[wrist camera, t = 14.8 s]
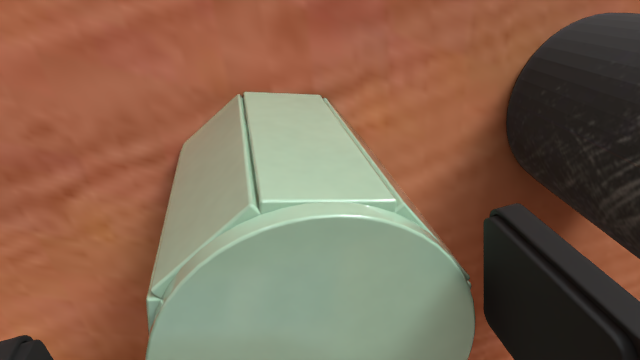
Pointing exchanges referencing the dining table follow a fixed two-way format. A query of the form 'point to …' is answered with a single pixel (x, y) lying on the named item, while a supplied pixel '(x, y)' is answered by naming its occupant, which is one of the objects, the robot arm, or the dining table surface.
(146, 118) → the dining table surface
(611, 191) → the travel mug
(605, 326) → the robot arm
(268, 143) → the green cup
